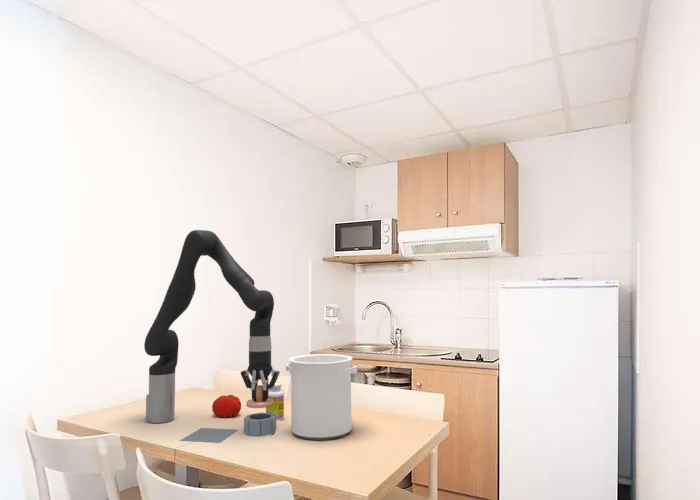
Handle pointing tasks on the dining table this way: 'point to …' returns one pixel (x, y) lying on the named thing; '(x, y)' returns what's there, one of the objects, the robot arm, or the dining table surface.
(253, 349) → the robot arm
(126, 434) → the dining table surface
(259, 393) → the lid
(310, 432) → the bucket
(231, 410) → the tomato
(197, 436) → the mat
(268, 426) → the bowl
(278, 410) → the supplement bottle
